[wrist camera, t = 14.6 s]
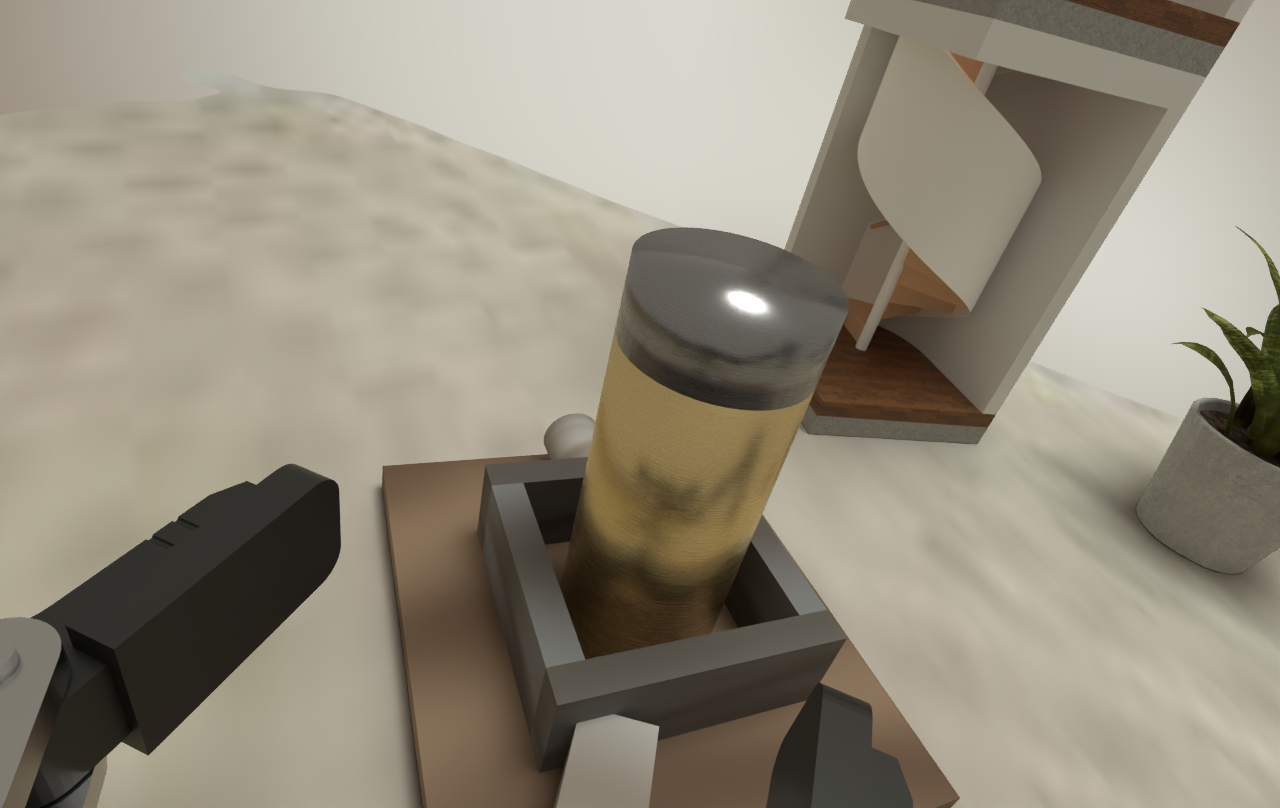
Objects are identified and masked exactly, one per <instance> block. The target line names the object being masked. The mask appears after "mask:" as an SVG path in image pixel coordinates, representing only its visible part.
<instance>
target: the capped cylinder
mask: <svg viewBox="0 0 1280 808" xmlns="http://www.w3.org/2000/svg"><path fill="white" fill-rule="evenodd" d="M848 311H849V300H848V298H847V295H846V293H845V292H844V290H843V289H842V288H841V286H840V285H839V284H838V283H837V282H836V281H835V280H834V279H833V278H831V277H830V276H829V275H828V274H826V273H825V272H824V271H822V270H821V269H820V268H818V267H816V266H815V265H813V264H812V263H810V262H808V261H806V260H804V259H803V258H801V257H799V256H797V255H795V254H793V253H790V252H788V251H786V250H783V249H781V248H779V247H776V246H773V245H771V244H768V243H765V242H762V241H759V240H756V239H752V238H749V237H745V236H741V235H737V234H732V233H728V232H722V231H716V230H710V229H701V228H668V229H661V230H656V231H653V232H650V233H647V234H645V235H643V236H641V237H640V238H639V239H638V240H637V241H636V242H635V243H634V245H633V248H632V253H631V258H630V262H629V267H628V272H627V276H626V281H625V286H624V291H623V295H622V300H621V305H620V309H619V314H618V319H617V323H616V328H615V333H614V338H613V342H612V347H611V352H610V356H609V361H608V366H607V370H606V375H605V380H604V384H603V389H602V394H601V399H600V403H599V408H598V413H597V417H596V422H595V427H594V431H593V436H592V441H591V446H590V450H589V455H588V460H587V464H586V469H585V474H584V478H583V483H582V488H581V492H580V497H579V502H578V507H577V511H576V516H575V521H574V525H573V530H572V535H571V539H570V544H569V549H568V554H567V558H566V563H565V568H564V572H563V577H562V582H561V586H560V589H561V592H562V595H563V598H564V600H565V603H566V606H567V609H568V612H569V615H570V618H571V620H572V623H573V626H574V629H575V632H576V635H577V638H578V640H579V643H580V646H581V649H582V652H583V655H584V657H585V660H586V659H591V658H596V657H600V656H605V655H610V654H615V653H620V652H625V651H630V650H634V649H639V648H644V647H649V646H654V645H659V644H663V643H668V642H673V641H678V640H683V639H688V638H692V637H697V636H702V635H707V634H711V633H712V631H713V628H714V626H715V624H716V621H717V619H718V617H719V614H720V612H721V610H722V607H723V605H724V603H725V600H726V598H727V595H728V593H729V591H730V588H731V586H732V584H733V581H734V579H735V577H736V574H737V572H738V570H739V567H740V565H741V563H742V560H743V558H744V556H745V553H746V551H747V548H748V546H749V544H750V541H751V539H752V537H753V534H754V532H755V530H756V527H757V525H758V523H759V520H760V518H761V516H762V513H763V511H764V509H765V506H766V504H767V501H768V499H769V497H770V494H771V492H772V490H773V487H774V485H775V483H776V480H777V478H778V476H779V473H780V471H781V469H782V466H783V464H784V462H785V459H786V457H787V454H788V452H789V450H790V447H791V445H792V443H793V440H794V438H795V436H796V433H797V431H798V429H799V426H800V424H801V422H802V419H803V417H804V414H805V412H806V410H807V407H808V405H809V403H810V400H811V398H812V396H813V393H814V391H815V389H816V386H817V384H818V382H819V379H820V377H821V375H822V372H823V370H824V367H825V365H826V363H827V360H828V358H829V356H830V353H831V351H832V349H833V346H834V344H835V342H836V339H837V337H838V335H839V332H840V330H841V328H842V325H843V323H844V320H845V318H846V316H847V313H848Z"/></svg>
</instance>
